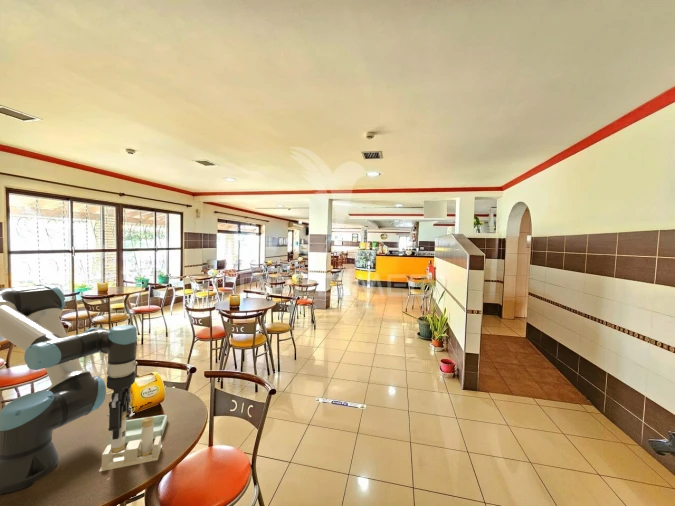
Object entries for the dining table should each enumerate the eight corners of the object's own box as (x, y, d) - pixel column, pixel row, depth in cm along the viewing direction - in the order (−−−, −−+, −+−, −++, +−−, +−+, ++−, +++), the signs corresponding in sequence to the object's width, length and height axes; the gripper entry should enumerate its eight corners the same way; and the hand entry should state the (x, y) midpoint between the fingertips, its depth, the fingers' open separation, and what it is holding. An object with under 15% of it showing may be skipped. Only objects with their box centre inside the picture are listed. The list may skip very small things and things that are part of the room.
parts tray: (109, 448, 101) (110, 438, 101) (120, 430, 111) (120, 421, 111) (161, 439, 107) (162, 430, 107) (167, 422, 117) (167, 414, 117)
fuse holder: (98, 474, 90) (99, 458, 90) (108, 456, 97) (108, 442, 97) (157, 462, 96) (157, 447, 96) (162, 446, 103) (162, 432, 103)
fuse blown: (109, 454, 93) (111, 417, 93) (113, 447, 96) (115, 411, 96) (122, 452, 94) (124, 415, 94) (126, 445, 97) (127, 410, 97)
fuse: (139, 459, 96) (140, 423, 95) (142, 452, 99) (143, 417, 99) (151, 456, 97) (152, 421, 97) (153, 449, 100) (154, 416, 100)
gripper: (127, 382, 88) (123, 457, 89) (141, 362, 104) (138, 426, 104) (97, 385, 86) (93, 463, 86) (116, 364, 101) (113, 430, 101)
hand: (118, 442), depth 95 cm, fingers closed on fuse blown, 3 cm apart
